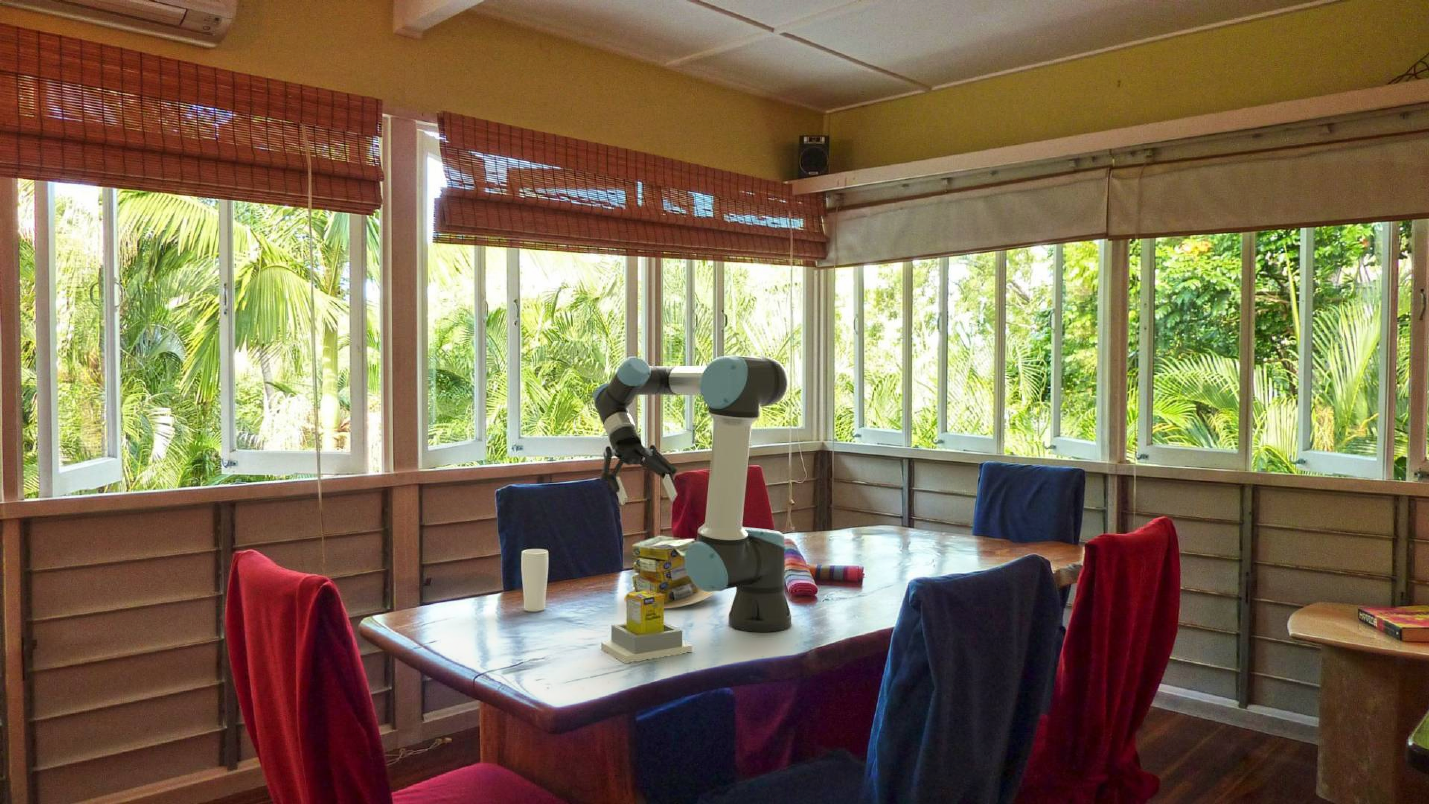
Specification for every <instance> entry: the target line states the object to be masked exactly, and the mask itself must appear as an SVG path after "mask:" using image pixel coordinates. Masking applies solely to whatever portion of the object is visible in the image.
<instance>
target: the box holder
mask: <svg viewBox="0 0 1429 804" xmlns="http://www.w3.org/2000/svg"><path fill="white" fill-rule="evenodd" d="M610 632H611V633H610V636H611V638H610V639H611V640H607V641H601V643H600V644H601V645H600V649H601V651H603V652H605V653H607V654H609V655H610V656H612V657H614V658H616V659H617V660H619V661H620V662H622V661H623V663H624V664H630V663H629V662H631V663H634V662H633V661H637V662H642V661H641V660H643V661H647V660H646V659H649V660H651V659H650V658H655V659H660V657H661V658H665V657H664V656H667V657H669V656H668V655H673V656H678V655H677V654H679V655H683V654H682V653H685V654H687V653H686V652H691V653H693V645H692V644H690V643H688V642H686V641H684V640H683V630H682V629H680V628H678V627H675V626H674V625H672V624H669V623H667V622H665V621H664V632H658V633H651V634H645V635H638V636H637V635H635V634H633V633H632V632H630V631H628V630H627V622H626V623H625V622H624V623H619V624H618V623H617V624H613V625H612V624H611V631H610Z"/></svg>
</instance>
